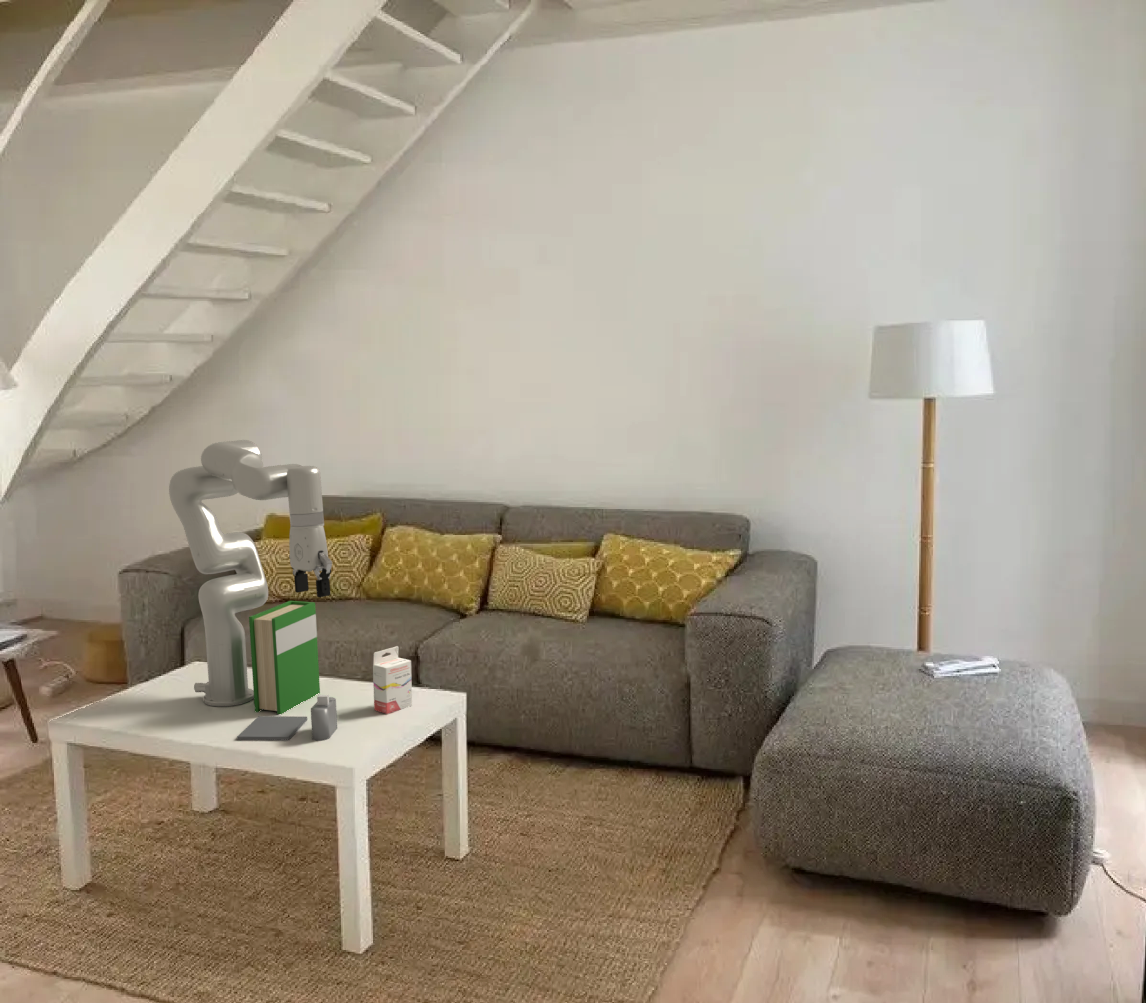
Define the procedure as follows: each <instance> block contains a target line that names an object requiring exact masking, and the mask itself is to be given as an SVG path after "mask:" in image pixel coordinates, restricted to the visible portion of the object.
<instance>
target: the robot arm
mask: <svg viewBox="0 0 1146 1003" xmlns="http://www.w3.org/2000/svg"><path fill="white" fill-rule="evenodd" d="M261 452H262V451H261V450H260V448H259V446H258V445H257V444H256V443H254V442H253V441H251V440H248V439H241V440H240V439H238V440H229V441H228V440H227V441H219V442H215V443H212V444H210V445H208V446H206V447H205V448H204V449H203V451H202V453H201V456H200V463H201V465H200V466H192V467H187V468H183V469H180V470H178V471H177V472H175V473H174V474H173V475H172V477H171V478H170V480H169V483H168V494H169V499H170V502H171V505H172V507H173V510H174V511H175V513H176V515H177V517H178V519H179V521H180V522H181V525H182V527H183V530H184V534H185V537H186V539H187V540H186V541H187V543H188V547H189V549H190V550H189V551H190V553H191V558H192V560H193V563H194V565H195V568H196V570H197V571H198V572H199V573H201V574H203V575H214V574H219V573H225V572H229V571H230V572H231V571H235V572H236V574H230V575H225V576H221V577H217V578H216V577H215V578H212V579H210V580H208V581H207V580H206V582H204V583H203V584H202V585H201V586H200V588H199V590H198V595H197V596H198V602H199V607H200V610H201V614H202V618H203V625H204V626H203V627H204V633H205V634H204V636H205V646H206V647H205V648H206V663H207V664H206V665H207V676H208V678H207V679H208V681H207V682H206V683H205V682H195V683H194V684H193V685H194V686H193V689H194V692H195V693H204V696H203V703H204V704H205V705H207V706H212V707H231V706H238V705H242V704H245V703H249V702H250V701H252V700H254V690H253V689H252V688H249V683H248V682H249V680H248V679H249V678H248V664H247V651H246V649H247V648H246V633H245V632H246V631H245V629H244V626H243V625H242V623H241V622H240V621H239V619H238V618H237V616H236V614H237V613H240V612H245V611H249V610H253V609H257V608H259V607H262V606H264V604H266V602H267V600H268V598H269V586H268V582H267V579H266V576H265V571H264V569H263V566H262V562H261V560H260V556H259V552H258V550H257V547H256V545H255V542H254V540H253V539H252V538H251V537H250V535H248V534H247V533H245V532H241V531H235V532H230V533H229V532H228V533H224V532H223V531H222V529H221V526H220V522H219V518H218V517H217V515H216V514H215V512H214V511H213V510H212V509H211V508H210V507H209V506H207V505H206V504H204V503H203V502H202V501H204V500H213V499H220V498H226V497H227V498H228V497H231V496H235V495H237V494H239V495H241V496H243V497H245V498H249V499H250V500H251V499H252V500H256V501H267V500H268V501H269V500H273V499H274V500H275V499H281V498H282V499H283V498H287V499H288V501H287V502H288V511H289V523H290V525H289V526H290V528H289V540H288V541H289V544H288V545H289V555H288V556H289V563H290V567H291V569H292V575H293V577H294V578H293V579H294V590H295V593H303V592H307V591H309V590H310V589H309V579H308V578H309V577H308V575H309V574H308V572H309V573H310V572H314V575H315V578H316V579H315V588H316V596H317V597H318V598H324V597H330V596H331V582H330V581H331V580H330V579H331V573H332V567H333V561H332V560H331V559H330V558H329V552H328V544H327V538H326V532H325V527H324V526H325V519H324V517H325V516H324V505H323V503H324V502H323V492H322V480H321V471H320V469H319V468H318V466H314V465H300V464H297V463H290V464H289V463H288V464H287V463H286V464H278V465H271V466H270V465H269V466H264V464H263V458H262V457H263V456H262V453H261ZM306 572H307V573H306Z"/></svg>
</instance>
